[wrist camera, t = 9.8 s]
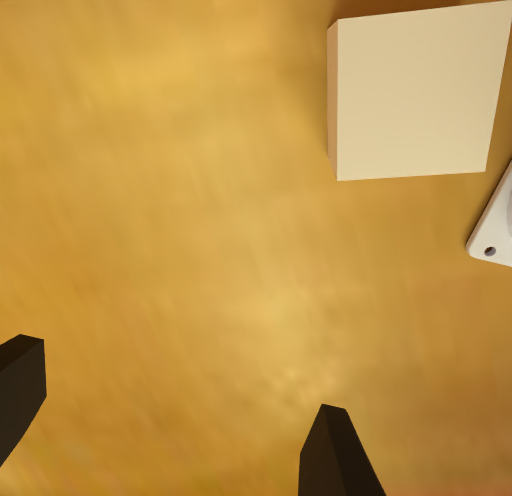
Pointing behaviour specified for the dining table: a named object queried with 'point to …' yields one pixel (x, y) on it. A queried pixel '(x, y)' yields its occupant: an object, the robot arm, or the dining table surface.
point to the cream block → (415, 90)
